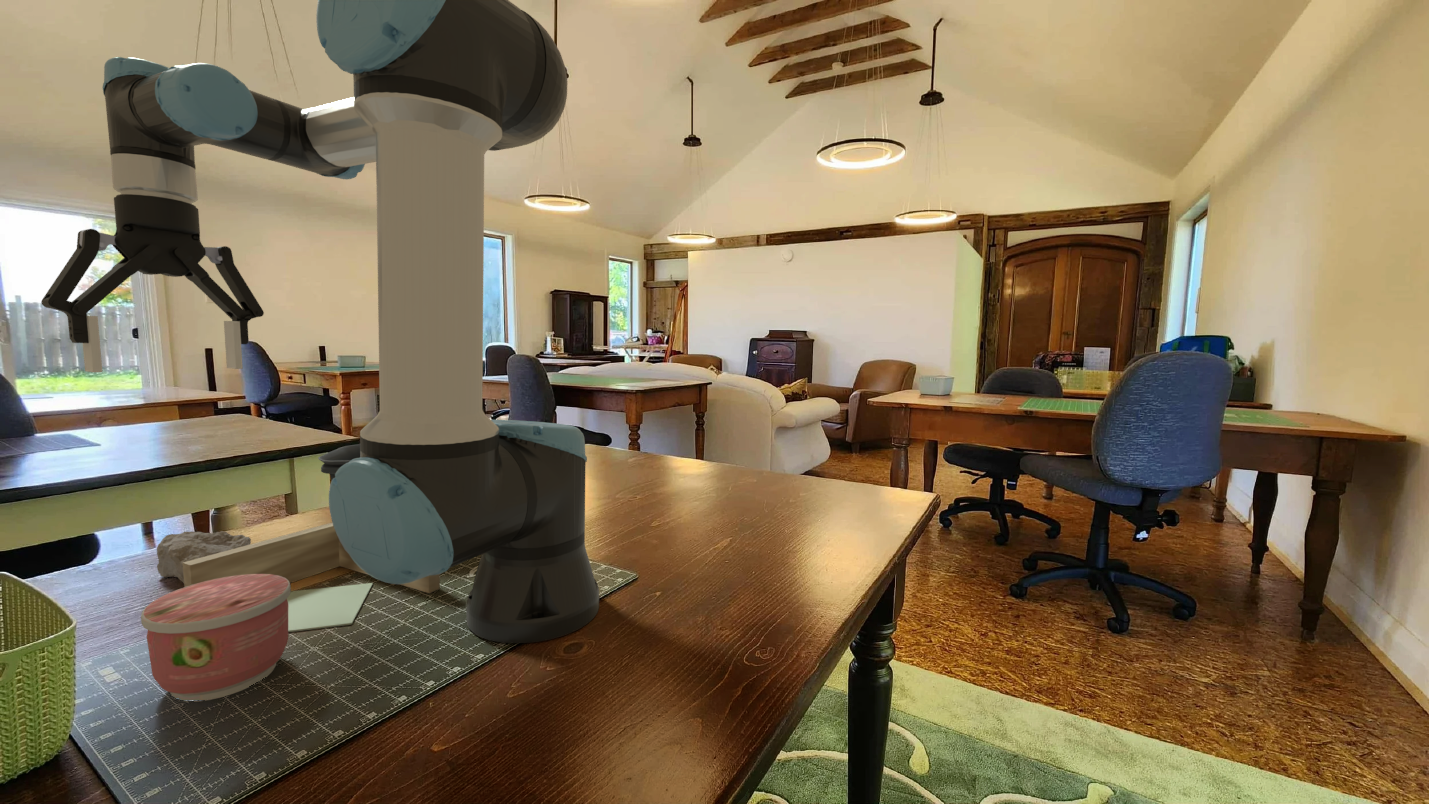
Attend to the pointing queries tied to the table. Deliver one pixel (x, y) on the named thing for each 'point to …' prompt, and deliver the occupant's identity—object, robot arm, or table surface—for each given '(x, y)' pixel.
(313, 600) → the plate
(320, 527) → the corner walls
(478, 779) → the table surface
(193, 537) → the stone
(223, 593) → the container
